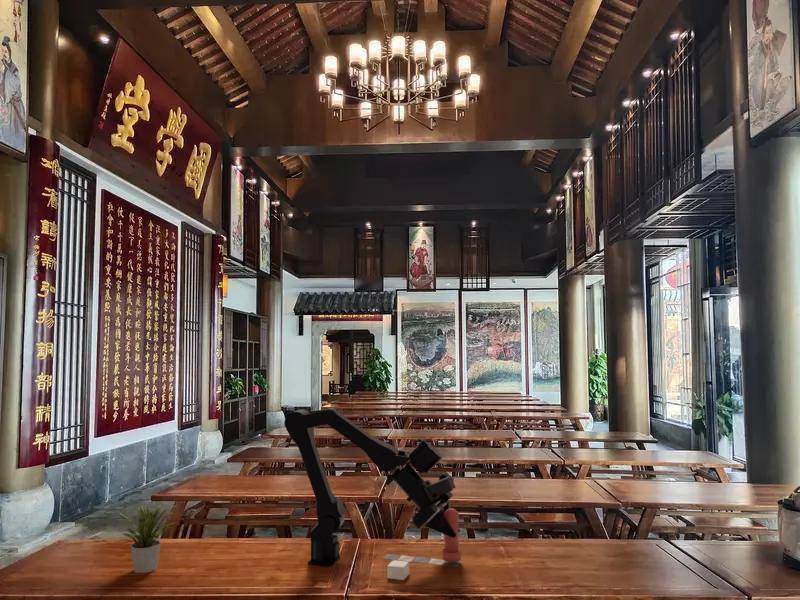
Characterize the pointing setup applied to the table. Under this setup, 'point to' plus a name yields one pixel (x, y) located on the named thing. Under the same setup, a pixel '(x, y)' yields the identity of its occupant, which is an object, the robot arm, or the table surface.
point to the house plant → (146, 539)
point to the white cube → (398, 570)
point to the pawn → (452, 544)
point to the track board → (421, 560)
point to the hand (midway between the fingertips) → (457, 534)
